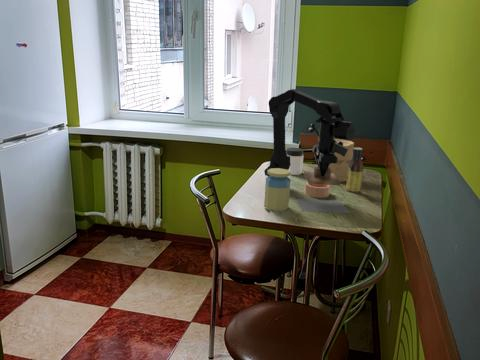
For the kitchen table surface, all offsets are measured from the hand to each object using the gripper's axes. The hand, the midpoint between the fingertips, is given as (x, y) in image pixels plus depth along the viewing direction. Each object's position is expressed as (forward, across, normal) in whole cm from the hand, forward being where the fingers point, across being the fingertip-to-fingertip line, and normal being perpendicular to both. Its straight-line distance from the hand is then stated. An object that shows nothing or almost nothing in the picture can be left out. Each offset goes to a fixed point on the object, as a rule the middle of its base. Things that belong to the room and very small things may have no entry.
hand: (321, 174), depth 174 cm
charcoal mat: (+12, -6, 0) cm, 13 cm away
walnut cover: (+2, 0, 0) cm, 2 cm away
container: (+12, +38, -16) cm, 43 cm away
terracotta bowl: (+12, +10, -1) cm, 15 cm away
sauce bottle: (+12, +16, -18) cm, 27 cm away
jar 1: (+12, -9, +18) cm, 23 cm away
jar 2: (+13, +44, +5) cm, 46 cm away
